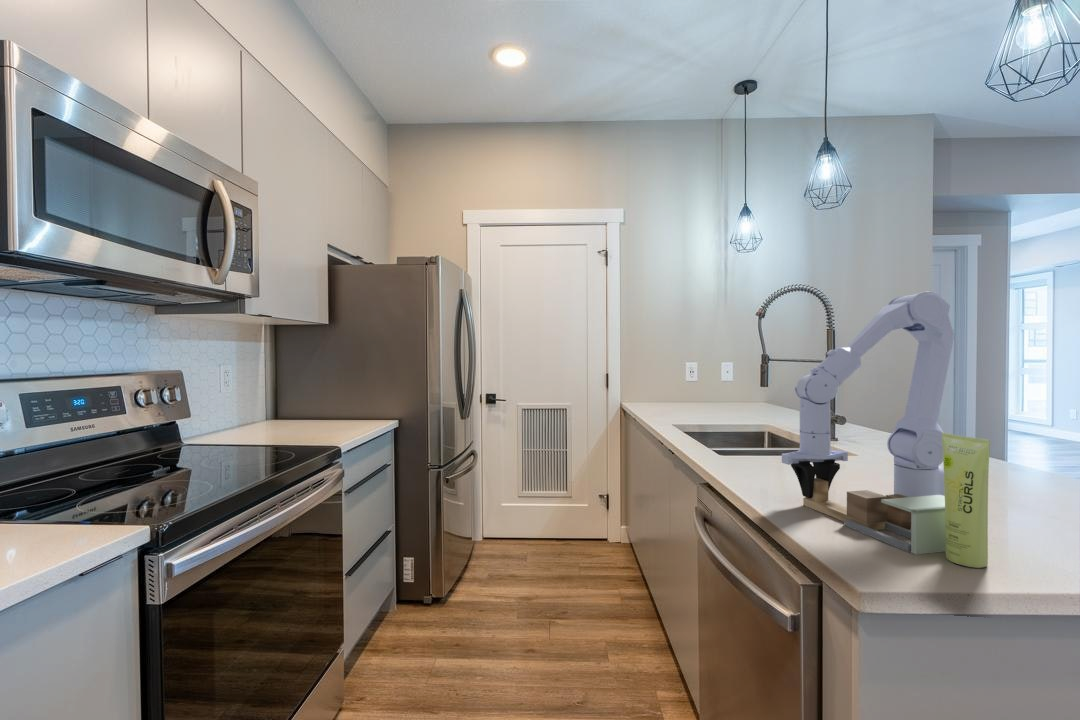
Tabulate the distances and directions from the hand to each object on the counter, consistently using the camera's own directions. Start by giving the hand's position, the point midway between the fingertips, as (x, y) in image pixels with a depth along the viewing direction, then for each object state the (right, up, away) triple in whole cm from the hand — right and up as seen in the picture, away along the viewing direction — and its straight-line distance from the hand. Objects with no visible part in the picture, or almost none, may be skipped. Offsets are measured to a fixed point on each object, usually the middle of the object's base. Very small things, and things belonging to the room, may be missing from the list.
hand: (814, 496), depth 106 cm
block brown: (+8, -2, -11) cm, 14 cm away
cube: (+3, -1, -13) cm, 13 cm away
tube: (+8, -3, -28) cm, 30 cm away
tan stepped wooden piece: (+1, -2, -7) cm, 7 cm away
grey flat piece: (+7, -2, -17) cm, 18 cm away
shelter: (+8, -2, -21) cm, 23 cm away
